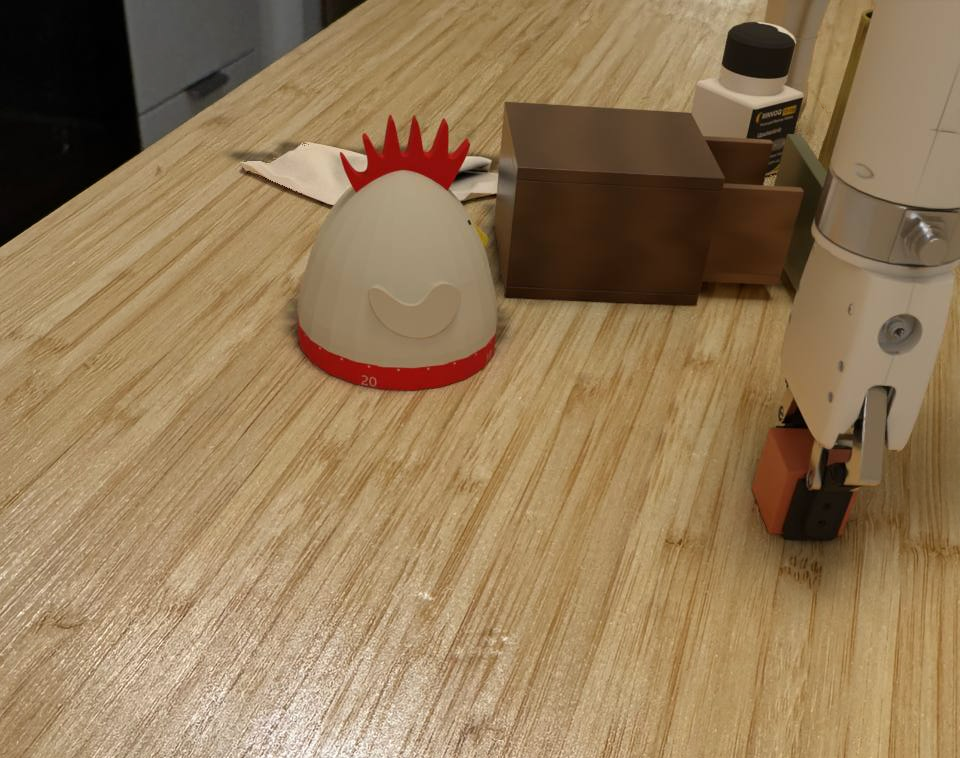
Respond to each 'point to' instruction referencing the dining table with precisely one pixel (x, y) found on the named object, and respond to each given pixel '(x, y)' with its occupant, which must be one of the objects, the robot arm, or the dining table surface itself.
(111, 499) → the dining table surface
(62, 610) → the dining table surface
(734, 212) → the drawer
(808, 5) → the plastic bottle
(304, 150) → the cloth
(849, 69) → the vase
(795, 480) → the block
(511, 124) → the cabinet
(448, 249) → the kitchen timer
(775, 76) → the medicine bottle
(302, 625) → the dining table surface
